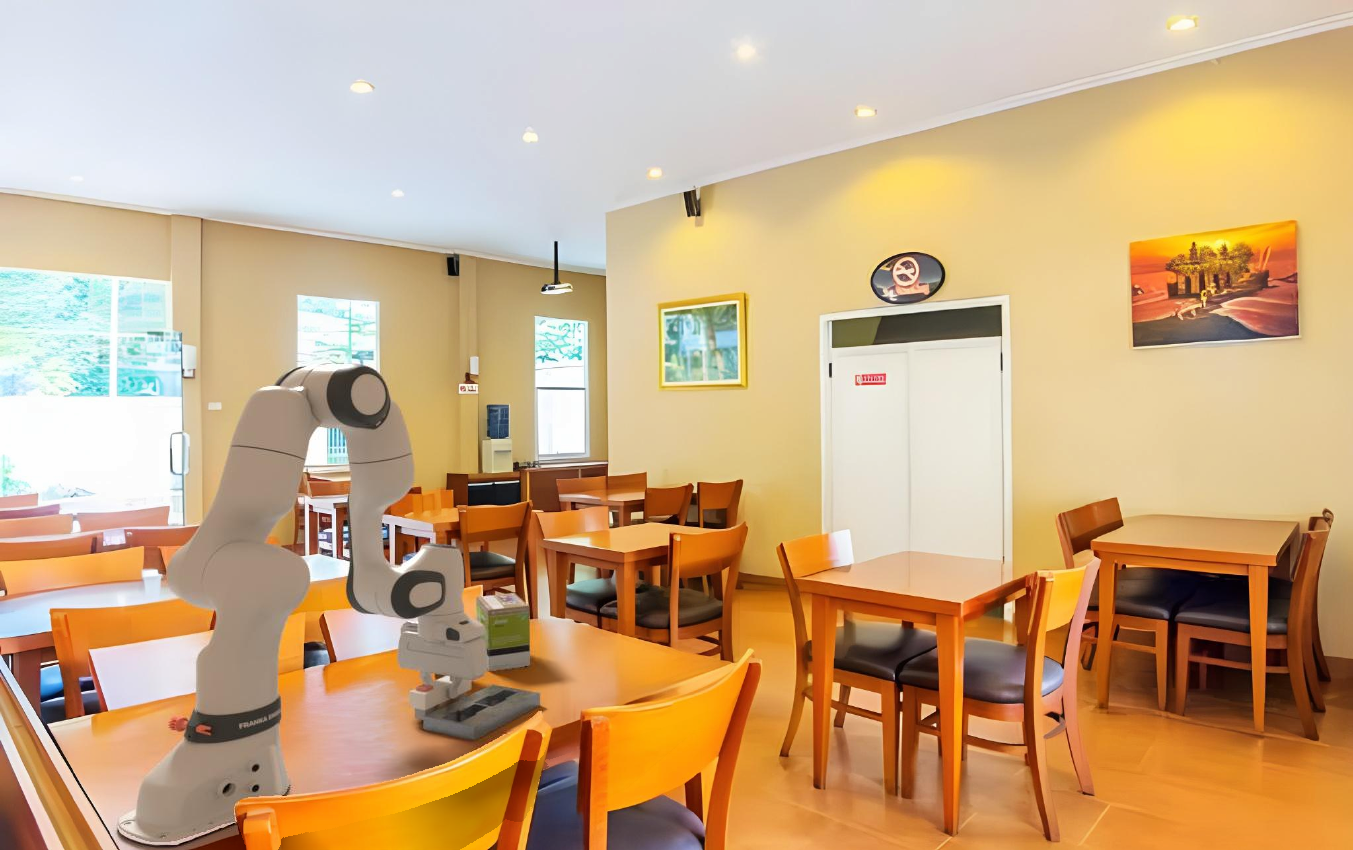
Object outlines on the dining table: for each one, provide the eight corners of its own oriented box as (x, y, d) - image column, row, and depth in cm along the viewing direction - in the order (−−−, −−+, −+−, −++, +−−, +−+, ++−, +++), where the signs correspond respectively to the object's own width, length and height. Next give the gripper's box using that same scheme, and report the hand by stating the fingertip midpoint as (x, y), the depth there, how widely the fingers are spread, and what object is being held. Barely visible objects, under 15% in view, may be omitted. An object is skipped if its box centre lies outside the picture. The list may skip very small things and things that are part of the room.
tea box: (475, 655, 195) (475, 595, 195) (516, 650, 200) (515, 591, 200) (488, 672, 182) (488, 608, 182) (531, 667, 186) (531, 604, 186)
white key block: (425, 722, 149) (425, 691, 149) (409, 718, 151) (409, 688, 151) (471, 700, 161) (471, 671, 161) (456, 697, 163) (455, 669, 163)
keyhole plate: (474, 741, 142) (474, 727, 142) (423, 729, 148) (423, 716, 148) (540, 705, 160) (540, 693, 160) (492, 696, 166) (492, 684, 166)
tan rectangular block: (439, 719, 153) (439, 704, 153) (422, 716, 155) (422, 700, 155) (459, 710, 158) (459, 695, 158) (442, 706, 160) (442, 692, 160)
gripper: (389, 623, 158) (389, 692, 158) (470, 634, 149) (470, 708, 149) (413, 616, 164) (413, 683, 164) (492, 627, 155) (492, 698, 155)
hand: (441, 695), depth 156 cm, fingers closed on white key block, 4 cm apart
